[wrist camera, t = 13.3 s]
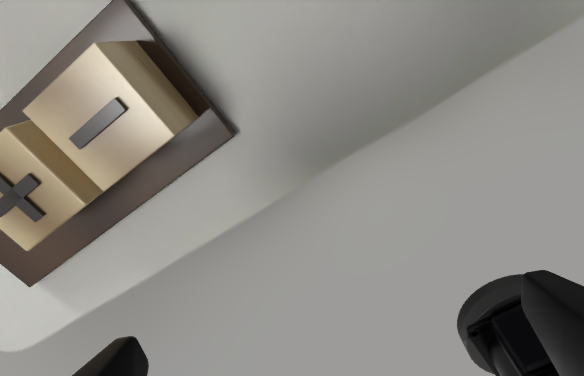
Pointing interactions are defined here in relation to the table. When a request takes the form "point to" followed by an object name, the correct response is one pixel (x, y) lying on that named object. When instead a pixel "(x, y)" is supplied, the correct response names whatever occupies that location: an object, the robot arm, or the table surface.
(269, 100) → the table surface
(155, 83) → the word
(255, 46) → the table surface
